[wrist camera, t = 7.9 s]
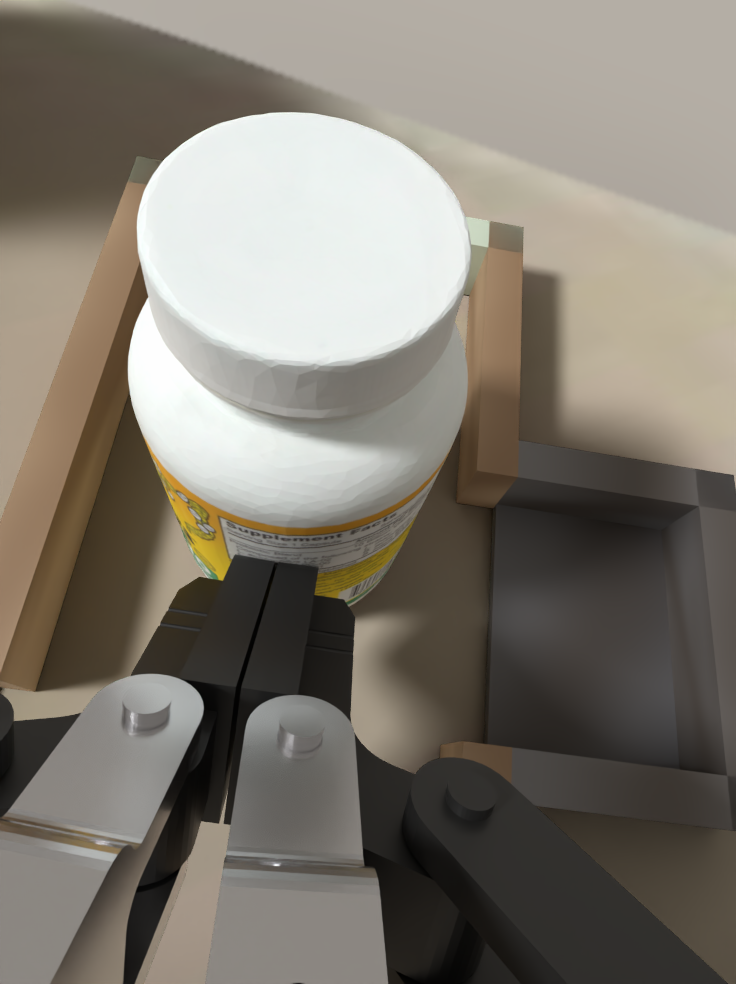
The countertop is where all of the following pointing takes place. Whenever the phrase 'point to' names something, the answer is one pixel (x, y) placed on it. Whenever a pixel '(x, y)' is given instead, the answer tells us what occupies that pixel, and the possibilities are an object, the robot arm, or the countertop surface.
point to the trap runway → (514, 562)
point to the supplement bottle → (299, 342)
